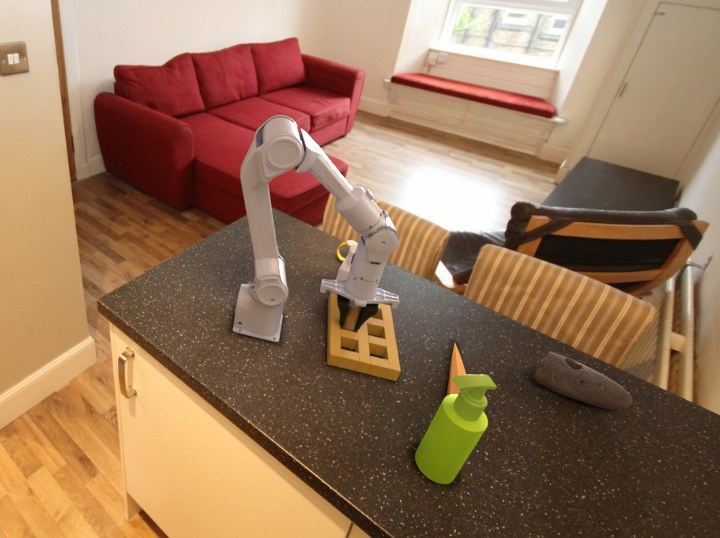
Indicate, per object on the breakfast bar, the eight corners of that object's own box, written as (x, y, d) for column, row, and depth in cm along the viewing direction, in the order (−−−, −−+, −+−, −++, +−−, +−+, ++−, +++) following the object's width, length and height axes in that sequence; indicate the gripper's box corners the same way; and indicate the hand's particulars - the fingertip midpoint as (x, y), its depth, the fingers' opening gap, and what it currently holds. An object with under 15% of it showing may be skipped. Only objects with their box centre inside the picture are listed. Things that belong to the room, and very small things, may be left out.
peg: (339, 336, 91) (348, 307, 88) (339, 327, 94) (348, 298, 90) (352, 339, 91) (362, 310, 87) (352, 330, 93) (361, 301, 89)
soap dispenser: (402, 447, 72) (444, 362, 62) (442, 445, 73) (490, 361, 63) (420, 485, 67) (469, 399, 57) (462, 483, 68) (518, 398, 58)
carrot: (463, 428, 76) (483, 415, 74) (440, 410, 77) (459, 397, 75) (456, 354, 93) (472, 342, 91) (437, 341, 94) (453, 328, 92)
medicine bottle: (370, 288, 106) (384, 247, 100) (362, 304, 101) (376, 262, 95) (341, 276, 109) (353, 235, 103) (332, 291, 104) (344, 250, 98)
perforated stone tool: (619, 404, 82) (640, 380, 79) (625, 427, 78) (647, 402, 75) (526, 366, 89) (541, 342, 85) (527, 385, 85) (543, 360, 81)
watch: (333, 260, 115) (338, 241, 112) (336, 254, 117) (341, 236, 114) (356, 268, 112) (362, 249, 109) (359, 263, 114) (365, 244, 111)
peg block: (327, 364, 85) (330, 354, 84) (328, 301, 101) (330, 291, 100) (396, 381, 83) (400, 371, 82) (386, 314, 99) (390, 304, 97)
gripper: (326, 276, 82) (312, 329, 89) (408, 294, 80) (387, 347, 86) (327, 254, 88) (313, 306, 95) (403, 270, 86) (384, 322, 92)
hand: (348, 324), depth 91 cm, fingers closed on peg, 2 cm apart
